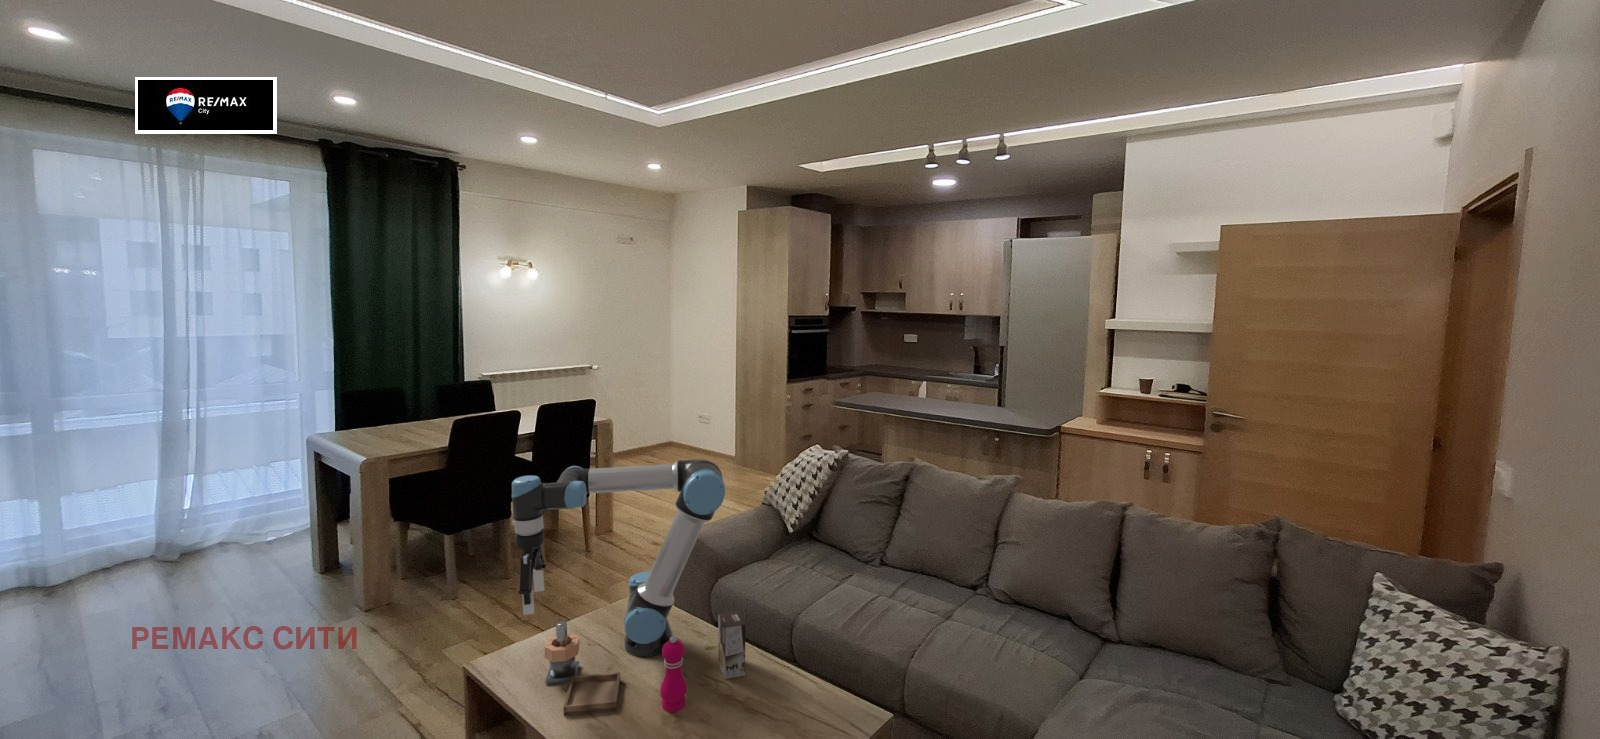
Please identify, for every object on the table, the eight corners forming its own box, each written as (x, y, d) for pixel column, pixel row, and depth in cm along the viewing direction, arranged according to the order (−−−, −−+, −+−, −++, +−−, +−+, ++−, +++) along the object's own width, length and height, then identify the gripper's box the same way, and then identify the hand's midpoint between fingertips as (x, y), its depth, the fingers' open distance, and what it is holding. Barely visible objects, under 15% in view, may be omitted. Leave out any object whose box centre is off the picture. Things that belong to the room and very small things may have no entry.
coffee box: (745, 675, 187) (746, 624, 185) (724, 679, 185) (724, 627, 183) (738, 658, 196) (738, 609, 194) (717, 662, 193) (717, 612, 191)
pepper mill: (674, 717, 168) (673, 646, 166) (654, 707, 172) (653, 638, 170) (692, 702, 175) (692, 634, 172) (673, 693, 178) (672, 626, 176)
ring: (580, 642, 190) (580, 632, 190) (576, 660, 181) (575, 648, 181) (549, 645, 188) (548, 634, 188) (542, 663, 180) (542, 651, 179)
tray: (620, 680, 184) (620, 672, 183) (616, 710, 171) (615, 701, 170) (571, 684, 181) (571, 676, 181) (563, 715, 168) (563, 707, 168)
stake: (579, 665, 190) (577, 615, 188) (575, 681, 183) (573, 629, 181) (551, 668, 189) (549, 617, 187) (545, 684, 181) (544, 632, 179)
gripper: (525, 516, 190) (530, 583, 193) (503, 550, 166) (509, 626, 169) (551, 514, 191) (556, 580, 194) (533, 547, 167) (539, 622, 170)
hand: (534, 602), depth 181 cm, fingers open, 13 cm apart
